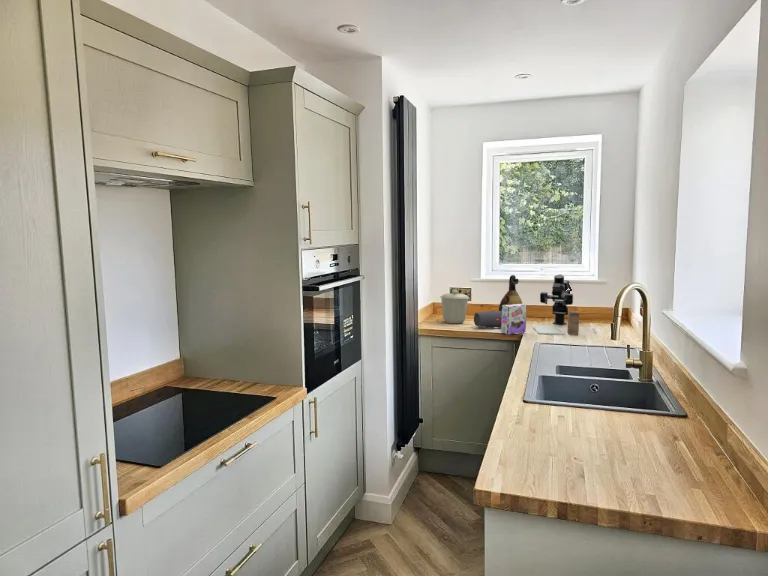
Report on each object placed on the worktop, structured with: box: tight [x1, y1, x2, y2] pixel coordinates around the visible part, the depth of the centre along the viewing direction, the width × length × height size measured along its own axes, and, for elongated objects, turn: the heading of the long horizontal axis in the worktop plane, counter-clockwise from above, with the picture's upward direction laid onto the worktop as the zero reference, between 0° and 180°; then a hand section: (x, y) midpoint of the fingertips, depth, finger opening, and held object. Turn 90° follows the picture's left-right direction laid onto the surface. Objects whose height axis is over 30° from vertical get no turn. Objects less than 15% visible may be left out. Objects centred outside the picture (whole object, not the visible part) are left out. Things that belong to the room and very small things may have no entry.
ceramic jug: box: [498, 274, 524, 311], centre depth 341 cm, size 17×15×30 cm
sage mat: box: [531, 325, 565, 336], centre depth 310 cm, size 22×14×1 cm, turn 174°
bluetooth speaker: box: [473, 310, 502, 329], centre depth 319 cm, size 23×9×10 cm, turn 106°
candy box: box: [500, 304, 527, 335], centre depth 302 cm, size 14×6×16 cm, turn 117°
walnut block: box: [567, 310, 580, 336], centre depth 300 cm, size 4×5×13 cm
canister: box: [439, 289, 470, 325], centre depth 335 cm, size 18×18×21 cm
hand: (554, 304), depth 310 cm, fingers open, 9 cm apart
